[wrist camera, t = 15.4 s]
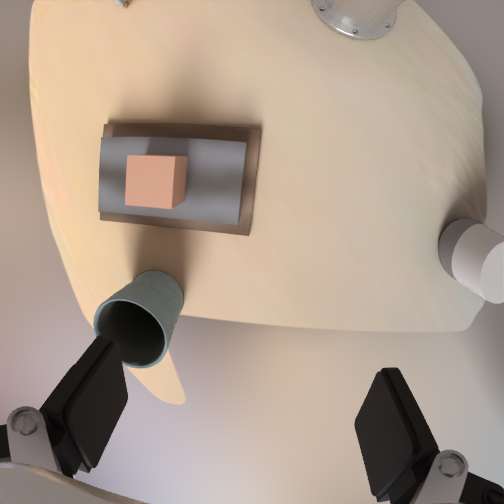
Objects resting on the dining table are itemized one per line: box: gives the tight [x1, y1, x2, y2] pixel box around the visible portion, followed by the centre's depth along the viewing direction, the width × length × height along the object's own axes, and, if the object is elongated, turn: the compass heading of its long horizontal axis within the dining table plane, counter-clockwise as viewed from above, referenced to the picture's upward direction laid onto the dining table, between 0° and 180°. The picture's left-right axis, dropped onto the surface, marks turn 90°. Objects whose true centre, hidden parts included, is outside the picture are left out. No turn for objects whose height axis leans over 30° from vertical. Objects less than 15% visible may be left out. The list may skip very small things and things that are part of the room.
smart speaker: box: [438, 219, 504, 303], centre depth 34 cm, size 10×9×14 cm
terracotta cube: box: [125, 154, 188, 209], centre depth 33 cm, size 6×6×6 cm
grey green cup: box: [93, 270, 184, 368], centre depth 39 cm, size 10×10×12 cm
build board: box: [99, 123, 261, 236], centre depth 37 cm, size 14×22×4 cm, turn 84°
